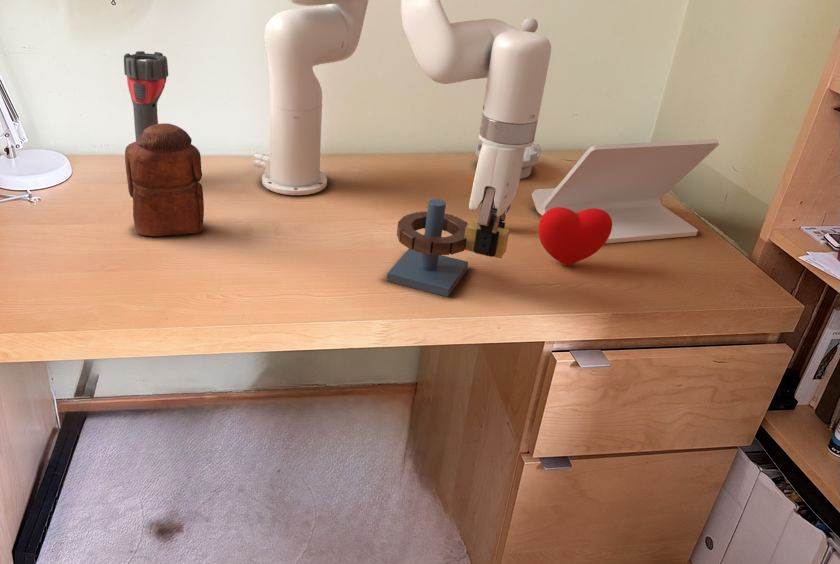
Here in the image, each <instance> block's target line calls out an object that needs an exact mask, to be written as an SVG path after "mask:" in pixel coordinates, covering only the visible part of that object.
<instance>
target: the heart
mask: <svg viewBox="0 0 840 564" xmlns="http://www.w3.org/2000/svg"><path fill="white" fill-rule="evenodd" d="M538 222H539V223H538V229H537V231H538V238H539V241H540V243H541V245H542V247H543V248H544V250H545V251H546V252H547V254H549V256H550V257H552V258H553V259H555V261H557V262H559V263H560V264H562V265H564V266H570V265H573V264H575V263H579V262H581V261H583V260H585V259H588V258H589V257H591V256H593V255H595V254H596V253H597V252H598V251H599V250H600V249H602V247H603V246H604V245H606V243H605V242H606V241H607V239H608V238H609V236H610V233H611V230H612V220H611V217H610V216H609V214H608V213H607V212H605V211H604V210H601V209H597V208H591V209H586V210H583V211H580V212H578V213H575V212H573V211H572V210H570V209H567V208H563V207H556V208H552V209H549V210H548V211H546V212H545V213H544V214H543V216H542V215H541V218H540V219H539V221H538Z"/></svg>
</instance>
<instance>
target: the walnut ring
mask: <svg viewBox="0 0 840 564" xmlns="http://www.w3.org/2000/svg"><path fill="white" fill-rule="evenodd" d="M426 218H427V211H416V212H412V213H409V214H405V215H403V217H401V219H399V220H398V221H397V228H396V237H397V240H398V243H400V244H401V245H403V246H405V247H406V248H408V249H411V250H413V249H414V251H417V252H421V253H425V254H429V255H430V254H431V253H432V255H443V256H450V255H451V256H452V255H455V254H458V253H461V252H464V251H468V252H472V253H475V252H474V244H475V238H476V232H477V227H478V222H476V221H471V220H470V221H469V222H467V221H466V220H464V219H461V218H460V217H459V216H454V214H449V213H445V214H444V221H443V228H442V231H444V232H447V233H449V234H451V235H448V236H441V237H431V236H427V235H424V234H422V233H420V232H419V230H423V229H425V226H426ZM497 231H499V237H498V242H497V248H496V254H495V256H494V257H493V258H496V259H497V258H498V259H502V258H503V257H504V255H505V254H506V251H507V247H508V241H509V235H510V231H511V230H510V229H508V228H504V229H503V228H499V227H498V230H497Z"/></svg>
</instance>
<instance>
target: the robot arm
mask: <svg viewBox="0 0 840 564" xmlns="http://www.w3.org/2000/svg"><path fill="white" fill-rule="evenodd" d="M288 1H289V2H291V3H292V4H294V5H298V6H305V7H299V8H289V9H286V10H285V9H284V10H282V11H279V12H278V13H277V12H276V14H274V15H273V16H272V17H271V18H270V19H269V20H268V21H267V23H266V25H265V28H264V32H263V33H264V34H263V37H264V46H265V53H266V58H267V64H268V72H269V120H270V121H269V123H270V124H269V155H266V154H263V153H259V152H255V154H254V156H253V161H252V162H253V163H252V164H253V167H255V168H259V169H260V168H261V169H263V170H264V172H263V174H261V175H262V176H261V183H262V186H263V187H264V188H266V189H267V190H269V191H270V192H273V193H276V194H281V195H287V196H308V195H313V194H317V193H319V192H321V191H323V190H324V189H325V188H326V187H327V185H328V177H327V176H326V174H324V173H323V171H321V170H320V168H321V144H322V118H323V115H322V114H323V90H322V86H321V83H320V81H319V79H318V78H317V76H316V74H315V72H314V69H313V68H314V66H319V65H324V64H325V65H326V64H330V63H331V64H333V63H337V62H342V61H346V60H347V59H349V58H350V57H352V55H354V53H355V51H356V50H357V48H358V45H359V43H360V39H361V34H362V31H363V27H364V22H365V17H366V12H367V10H368V5H369V0H288ZM313 6H314V7H313ZM400 15H401V16H400V17H401V24H402V28H403V31H404V34H405V36H406V39H407V42H408V43H409V46H410V48H411V50H412V53H413V55H414V57H415V59H416V61H417V63H418V64H419V66H420V68H421V70H422V71H423V73H425V75H426V77H428V78H429V79H431V80H432V81H433V82H435V83H438V84H443V85H449V84H456V83H461V82H462V83H463V82H466V81H470V80H471V81H472V80H478V79H486V85H485V93H484V99H483V105H482V112H481V118H480V126H479V133H478V138H479V141H480V140H481V141H483V144H482V148H481V151H480V155H479V158H478V159H477V163H476V168H475V174H474V178H473V183H472V187H471V193H470V198H469V203H468V208H469V210H470V211H471V212H474V211H477V209H478V208H479V207H480V210H479V215H478V222H477V223H478V227H477V232H476V238H475V244H474V252H473V253H474V254H477V255H480V256H481V255H482V256H485V257H490V258H495V257H494V256H495V254H496V248H497V242H498V237H499V231H497V230H498V227H499V228H503V229H505V227H506V222H505V221H506V219H507V214H508V212H507V208H508V206H509V205H510V206H511V204H512V202H513V200H514V199H515V197H516V195H517V192H518V188H519V184H520V180H521V179H520V175H521V170H522V164H523V158H524V152H525V148H526V147H529V146H534V143H535V137H536V132H537V128H538V121H539V117H540V113H541V107H542V102H543V97H544V91H545V85H546V82H547V81H546V80H547V76H548V70H549V65H550V60H551V54H552V44H551V41H550V39H548V37H546V36H545V35H543V34H541V33H537V32H534V33H533V32H526V31H523V30H520V29H518V28H516V27H514V26H513V25H511V24H509V23H508V22H506V21H504V20H501V19H496V18H483V19H475V20H474V19H473V20H466V21H465V20H464V21H457V22H450V20H449V18H448V16H447V13H446V12H445V10H444V7H443V5H442V3H441V0H400ZM506 213H507V214H506ZM501 221H502V222H501Z"/></svg>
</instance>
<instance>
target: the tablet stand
mask: <svg viewBox="0 0 840 564" xmlns="http://www.w3.org/2000/svg"><path fill="white" fill-rule="evenodd" d="M719 145H720V144H719V141H718V139H717V138H712V139H711V138H710V139H709V138H708V139H690V140H670V141H652V142H651V141H649V142H631V143H611V144H594V145H591V146H589V147H588V148H587V150H586V151H585V152H584V153H583V154H582V156H581V157H580V158H579V159H578V160H577V162H576V163H575V164H574V165H573V166H572V168H571V169H570V170H569V172H568V173H567V174H566V175H565V176H564V178H563V179H562V180H561V181H560V182H559V184H558V185H557V186H556V187H555V188H554V187H553V188H551V187H550V188H539V189H538V188H537V189H534V191H533V192H532V193H531V197H532V201H533V203H534V206H535V210H536V212H537V213H538V214H540V215H541V217H542V216H543V214H544V213H545V212H546V211H548V210H549V209H552V208H556V207H563V208H567V209H570V210H572V211H573V212H575V213H578V212H580V211H583V210H586V209H591V208H597V209H601V210H604V211H605V212H607V213H608V214H609V216H610V217H611V220H612V230H611V233H610V236H609V238H608V239H607V241H606V242H605V244H615V243H626V242H627V243H628V242H640V241H650V240H662V239H672V238H674V239H675V238H684V237H685V238H686V237H695V236H697V234H698V232H699V230H698V229H697V228H696V227H695V226H693V225H691V224H690V223H689V222H687V221H685V220H684V219H683V218H681V217H680V216H679V215H677V214H675V213H674V212H672V211H671V210H670V209H668V208H667V207H665V206H664V205H662V199H663V198H664V197H665V196H666V195H667V194H668V193H669V192H670V191H671V190H672V189H673V188H674V187H675V186H677V185H678V183H680V182H681V181H682V180H683V179H684V178H685V177H686V176H687V175H689V173H691V172H692V171H693V170H694V169H695V168H696V167H697V166H698V165H699V164H700V163H701V162H702V161H703V160H705V159H706V158H707V157H708V156H709V155H710V154H711V153H712V152H713V151H714V150H715V149H716V148H717V147H718V146H719Z"/></svg>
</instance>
